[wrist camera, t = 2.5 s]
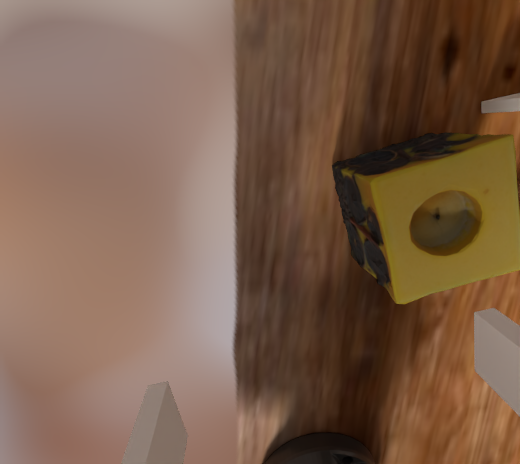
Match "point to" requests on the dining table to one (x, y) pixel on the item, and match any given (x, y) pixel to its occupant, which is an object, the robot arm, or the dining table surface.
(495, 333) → the robot arm
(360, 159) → the candle
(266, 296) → the dining table surface
